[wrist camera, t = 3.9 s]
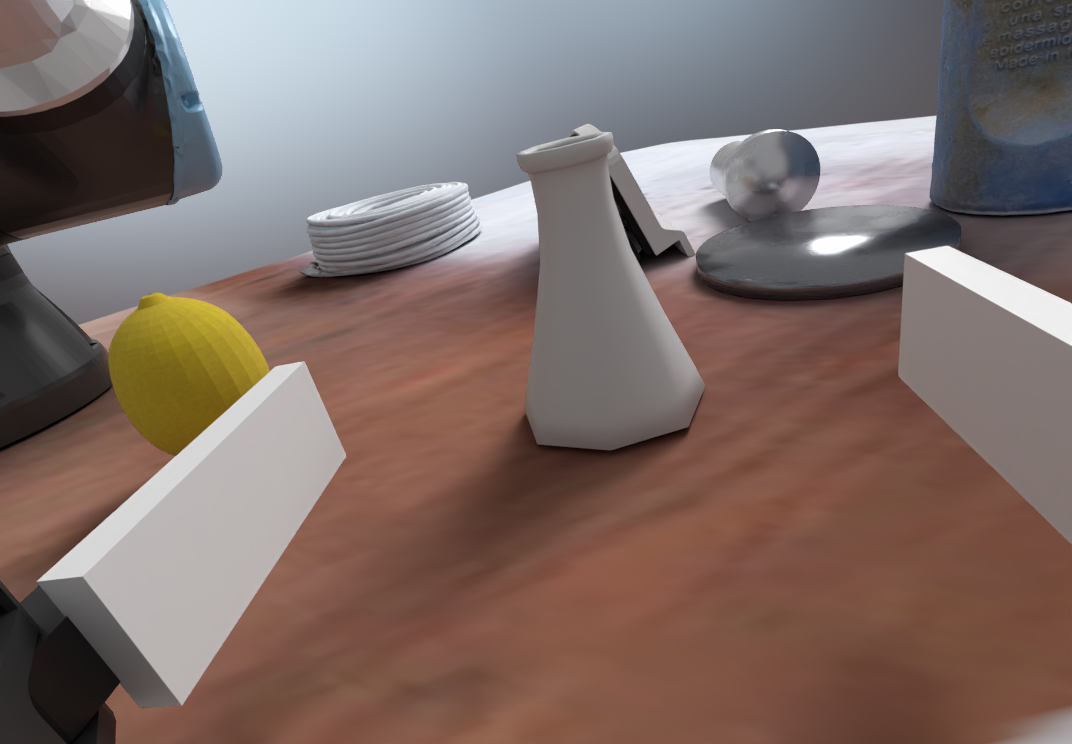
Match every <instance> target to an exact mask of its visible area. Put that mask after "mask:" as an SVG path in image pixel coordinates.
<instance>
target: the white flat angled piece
mask: <svg viewBox="0 0 1072 744" xmlns="http://www.w3.org/2000/svg"><path fill="white" fill-rule="evenodd" d="M594 132H600V131H599V130H598V129H597V128H595V127H594V126H592V125H590V124H586V125H584V126H582V127H580V128H577V129H575V130H573V131H572V132H571V136H570V137H574V136H579V135H584V134H589V133H594ZM607 156H608V169H609V175H610V180H611V186H612V192H613V197H614V201H615V203H616V206H617V209H618V212H619V215H620V218H621V221H622V224H623V226H628V227H629V228H630V230H629V231H627V232H626V231H625V233H626V235H627V238H628V241H629V244H630V247H631V249H632V251H633V253H634V255H635V257H636V259H637V261H638V260H640V259H641V257H640V255H639V252H640V251H641V250H642V249H643V250H644V251H645V252H646V253H647V254H649V253H651V252H653V253H654V254H655V255H656V256H657V255H658V254H659V253H661V252H662V251H664V250H665V249H667V248H668V247H669V246H671V245H672V244H673V245H674V246H675V247H677V248H678V249H679V250H680V251H682V252H683V253H684V254H685V255H687V256H688V257H690V256H693V255H696V254H695V252H694V250H693V249H692V247H691V245H690V243H689V241H688V239H687V237H686V235H685V233H684V232H683V231H681V230H680V229H678V228H677V227H675V226H674V225H672V224H671V223H670V222H668V221H667V220H665V219H664V218H662V217H661V216H659V215H658V214H657V213H655V212H654V211H652V209H651V207H650V206H649V204H648V202H647V200H646V198H645V197H644V195H643V193H642V191H641V190H640V188H639V186H638V184H637V182H636V181H635V179H634V177H633V175H632V173H631V172H630V170H629V168H628V166H627V165H626V163H625V161H624V159H623V158H622V156H621V154H620V153H619V152H618V150H617V148H616V147H615V146H614V145H613V149H612V151H611V152H610V153H608V154H607ZM624 230H625V229H624Z"/></svg>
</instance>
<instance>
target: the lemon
mask: <svg viewBox="0 0 1072 744" xmlns="http://www.w3.org/2000/svg"><path fill="white" fill-rule="evenodd" d="M108 364H109V372H110V377H111V381H112V385H113V388H114V391H115V394H116V396H117V398H118V401H119V403H120V405H121V407H122V409H123V411H124V412H125V414H126V415H127V417H128V418H129V420H130V421H131V423H132V424H133V425H134V427H135V428H136V429H137V430H138V431H139V432H140V434H141V435H142V436H143V437H144V438H145V439H147V440H148V441H149V442H150V443H151V444H153V445H154V446H156V447H157V448H159V449H160V450H162V451H164V452H166V453H168V454H171V455H174V456H177V455H178V454H179V453H180V452H181V451H182V450H183V449H184V448H186V447H187V446H188V445H189V444H190V443H191V442H192V441H193V440H194V439H196V438H197V437H198V436H199V435H200V434H201V433H202V432H203V431H204V430H206V429H207V428H208V427H209V426H210V425H211V424H212V423H213V422H214V421H216V420H217V419H218V418H219V417H220V416H221V415H222V414H223V413H224V412H226V411H227V410H228V409H229V408H230V407H231V406H232V405H233V404H234V403H236V402H237V401H238V400H239V399H240V398H241V397H242V396H243V395H245V394H246V393H247V392H248V391H249V390H250V389H251V388H252V387H253V386H255V385H256V384H257V383H258V382H259V381H260V380H261V379H262V378H263V377H265V376H266V375H267V374H268V373H269V372H270V371H269V368H268V365H267V363H266V361H265V358H264V356H263V354H262V353H261V351H260V349H259V348H258V346H257V344H256V343H255V342H254V340H253V339H252V338H251V336H250V335H249V334H248V333H247V331H246V330H245V329H244V328H243V327H242V326H241V325H240V324H239V323H238V322H237V321H236V320H235V319H234V318H233V317H232V316H231V315H229V314H228V313H227V312H225V311H224V310H222V309H221V308H219V307H217V306H214V305H212V304H210V303H207V302H204V301H200V300H195V299H190V298H170V297H168V296H166V295H164V294H162V293H153V294H148V295H146V296H144V297H142V298H141V299H140V303H139V306H138V309H136V310H135V311H134V312H133V313H132V314H130V315H129V316H128V317H127V318H126V319H125V320H124V321H123V323H122V324H121V325H120V327H119V328H118V330H117V332H116V334H115V336H114V337H113V339H112V342H111V345H110V348H109V356H108Z"/></svg>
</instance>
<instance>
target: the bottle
mask: <svg viewBox="0 0 1072 744" xmlns="http://www.w3.org/2000/svg"><path fill="white" fill-rule="evenodd" d="M930 199H931V200H932V201H933V203H934V204H936V205H938V206H940V207H942V208H943V209H947V210H950V211H953V212H963V213H969V214H980V215H1001V216H1004V215H1027V214H1044V213H1050V212H1057V211H1067V210H1072V0H944V9H943V22H942V38H941V57H940V69H939V87H938V100H937V119H936V129H935V142H934V157H933V163H932V180H931V188H930Z"/></svg>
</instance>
